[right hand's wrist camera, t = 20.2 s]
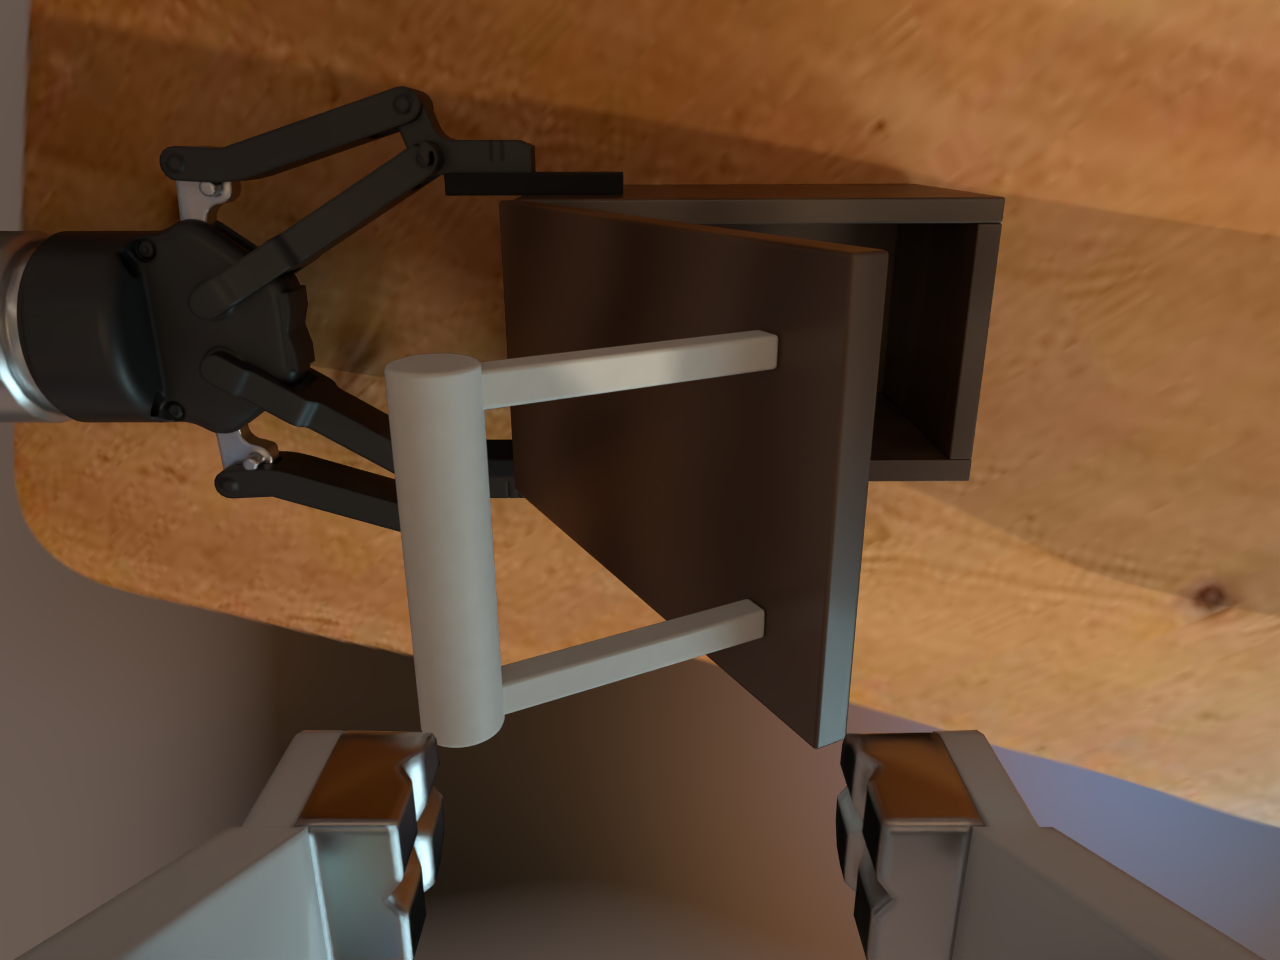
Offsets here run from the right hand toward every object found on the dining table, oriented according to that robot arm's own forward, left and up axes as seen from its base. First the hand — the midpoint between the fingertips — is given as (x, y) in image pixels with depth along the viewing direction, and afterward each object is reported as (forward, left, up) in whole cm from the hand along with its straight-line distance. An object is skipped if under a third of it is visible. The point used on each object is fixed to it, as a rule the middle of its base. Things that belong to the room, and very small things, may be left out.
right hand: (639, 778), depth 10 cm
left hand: (0, 0, -28) cm, 28 cm away
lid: (0, 0, -16) cm, 16 cm away
